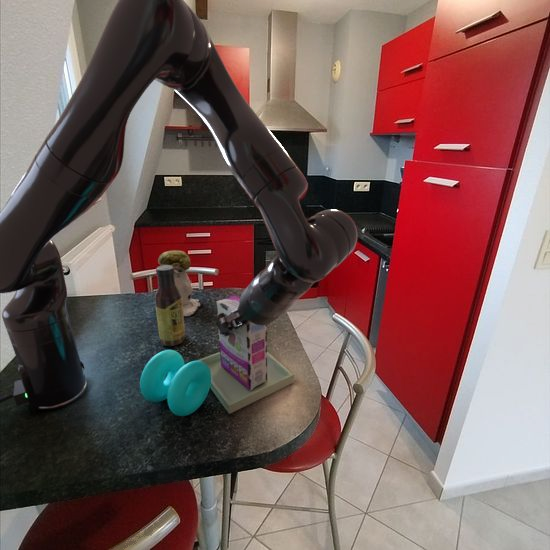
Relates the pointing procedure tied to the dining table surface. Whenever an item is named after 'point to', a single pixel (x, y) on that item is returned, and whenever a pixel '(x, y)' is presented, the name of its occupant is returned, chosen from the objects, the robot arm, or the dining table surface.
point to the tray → (235, 392)
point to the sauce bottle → (169, 308)
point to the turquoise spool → (176, 382)
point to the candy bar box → (243, 349)
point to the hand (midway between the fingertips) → (237, 327)
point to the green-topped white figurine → (181, 278)
